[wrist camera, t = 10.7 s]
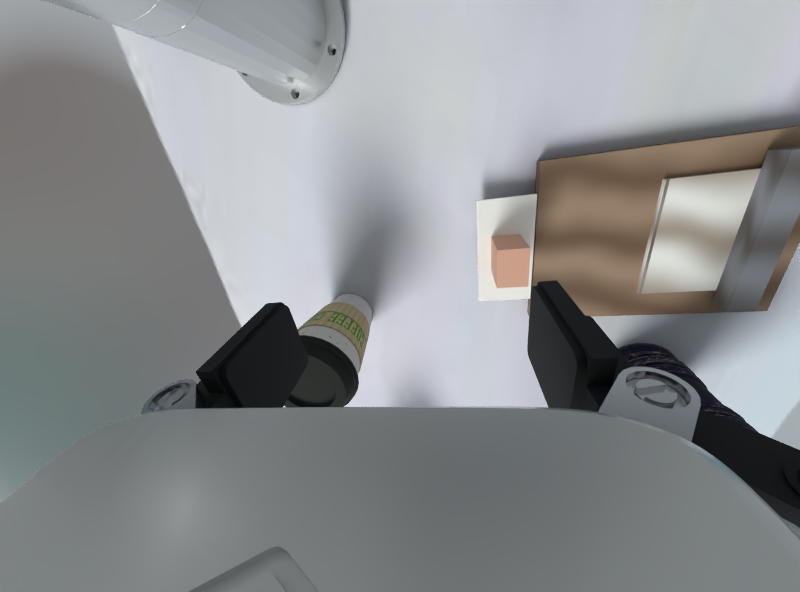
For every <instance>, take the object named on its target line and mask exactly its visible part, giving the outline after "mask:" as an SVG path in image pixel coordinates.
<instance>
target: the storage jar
mask: <svg viewBox="0 0 800 592" xmlns="http://www.w3.org/2000/svg"><path fill="white" fill-rule="evenodd" d="M618 350H619V351H620V352H621V353H622V355H623V356H624V357H625V358H626V359H627V361H628V362H629V363H630V364H631V366H632V367H650V368H655V369H659V370H663V371H666V372H668V373H671V374H673V375H675V376H677V377H679V378H681V379H682V380H684V381H686V382H687V383H688V384H689V385H690V386H692V387H693V388H694V389H695V390H696V392H697V393H698V395H699V396H700V401H701V406H700V409H702V410H705V411H707V412H710V413H712V414H714V415H717V416H719V417H722V418H724V419H726V420H729V421H731V422H733V423H736V424H738V425H741V426H743V427H745V428H748V429H750V430H753V431H755V432H757V431H756V430H755V429H754V428H753V427H752V426H750V425H749V424H748V423H746V421H745V420H744V419H743V418H742V417H741V416H740V415H739V414H737V413H736V412H734V411H733V410H731V409H730V408H728V407H726V406H724V405H723V404H722V403H721V402H720V401H719V400H718V399H716V398H715V397H714V396H713V395H712V394H711V393H710V392H709V391H708V389H707V387H706V386H705V384H704V383H703V382H702V381H701V380H700V379H699V378H698V377H697V376H696V375H695V374H694V372H693V371H691V370H690V369H689V368H688V367H687V366H686V365H685V364H684V363H682V362H680V361H679V360H678V359H677V358H676V357H675V356H674V355H673V354H672V353H671V352H669V351H668V350H667V349H665V348H663V347H661V346H658V345H654V344H646V343H641V344H631V345H627V346H623V347H621V348H618ZM757 433H758V432H757Z"/></svg>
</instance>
